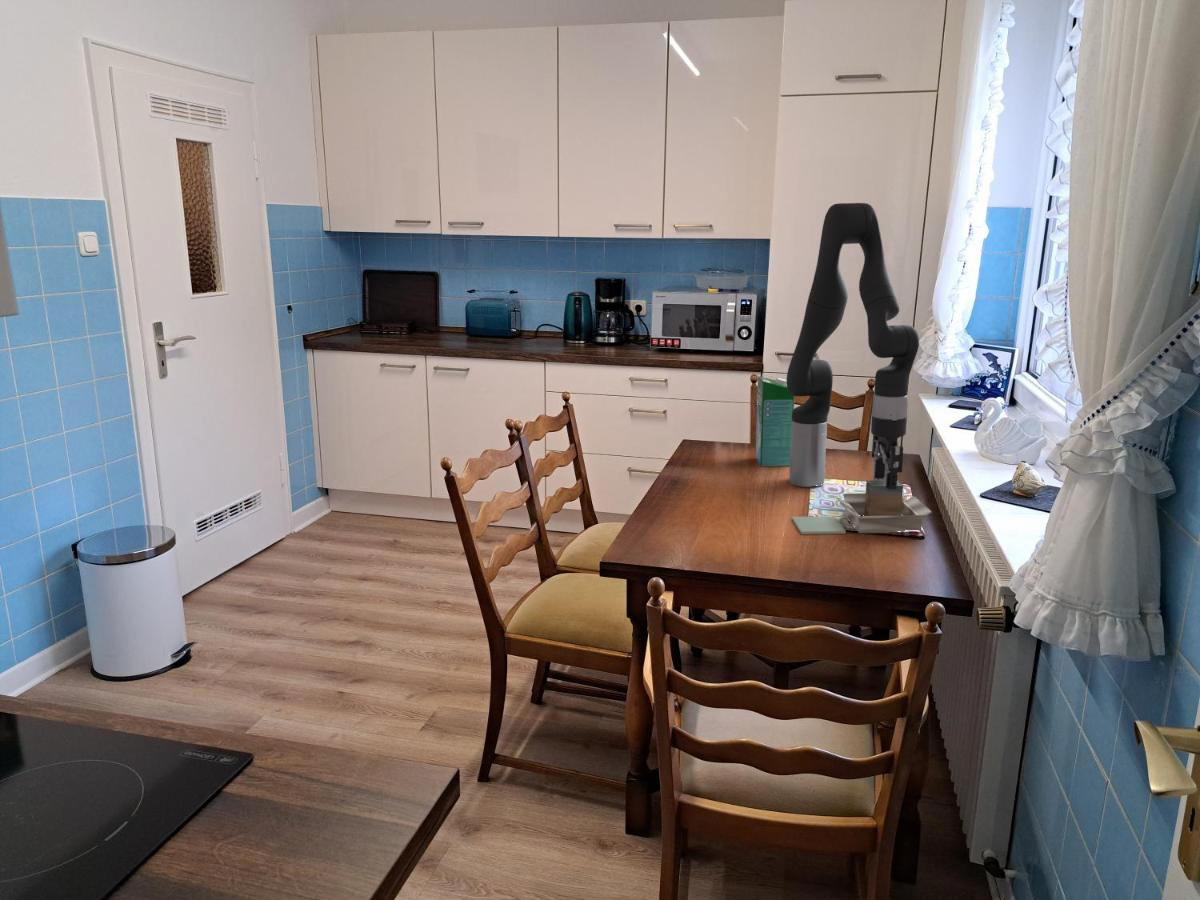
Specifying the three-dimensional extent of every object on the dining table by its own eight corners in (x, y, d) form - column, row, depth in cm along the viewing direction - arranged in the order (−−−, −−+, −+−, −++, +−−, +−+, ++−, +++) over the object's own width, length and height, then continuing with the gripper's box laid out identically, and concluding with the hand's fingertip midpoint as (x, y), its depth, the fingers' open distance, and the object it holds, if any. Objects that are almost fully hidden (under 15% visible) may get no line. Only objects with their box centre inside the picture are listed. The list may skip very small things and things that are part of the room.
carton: (832, 512, 207) (833, 493, 206) (909, 511, 207) (910, 492, 206) (851, 537, 191) (853, 516, 190) (934, 535, 191) (936, 515, 190)
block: (863, 520, 201) (866, 480, 199) (893, 520, 201) (896, 479, 199) (869, 527, 197) (872, 486, 194) (899, 527, 197) (903, 485, 194)
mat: (792, 519, 203) (792, 516, 203) (834, 518, 203) (834, 516, 203) (801, 534, 193) (801, 531, 193) (845, 533, 193) (845, 531, 193)
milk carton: (791, 466, 247) (795, 380, 240) (760, 466, 247) (763, 381, 241) (785, 457, 256) (788, 375, 249) (755, 458, 256) (757, 375, 249)
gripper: (863, 408, 199) (859, 475, 203) (882, 421, 185) (878, 492, 189) (895, 407, 199) (891, 474, 203) (917, 420, 185) (912, 492, 189)
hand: (885, 483), depth 196 cm, fingers open, 8 cm apart
